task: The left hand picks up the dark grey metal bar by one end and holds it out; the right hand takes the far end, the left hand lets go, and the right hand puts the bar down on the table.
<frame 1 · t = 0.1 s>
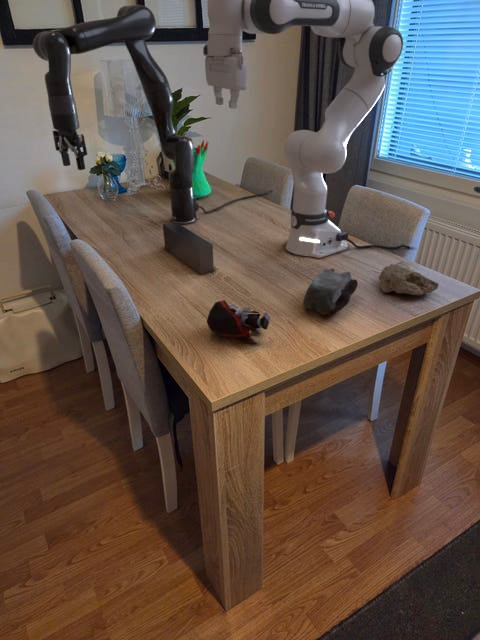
left hand: (74, 167, 141), 29 cm above the table, tool pointing down, fingers open, 8 cm apart
right hand: (226, 106, 124), 48 cm above the table, tool pointing down, fingers open, 8 cm apart
toy: (236, 337, 111), on the table
artifact: (401, 287, 134), on the table
toy 2: (190, 195, 217), on the table
dark grey rock: (330, 304, 126), on the table
bar: (188, 259, 152), on the table
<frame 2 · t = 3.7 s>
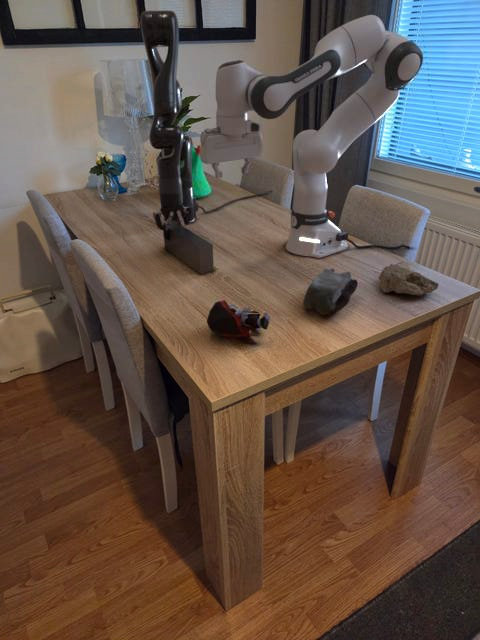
left hand: (174, 238, 156), 4 cm above the table, tool pointing down, fingers closed on bar, 5 cm apart
right hand: (232, 175, 134), 29 cm above the table, tool pointing down, fingers open, 8 cm apart
bar: (188, 259, 152), on the table, touching left hand
everything else where it was.
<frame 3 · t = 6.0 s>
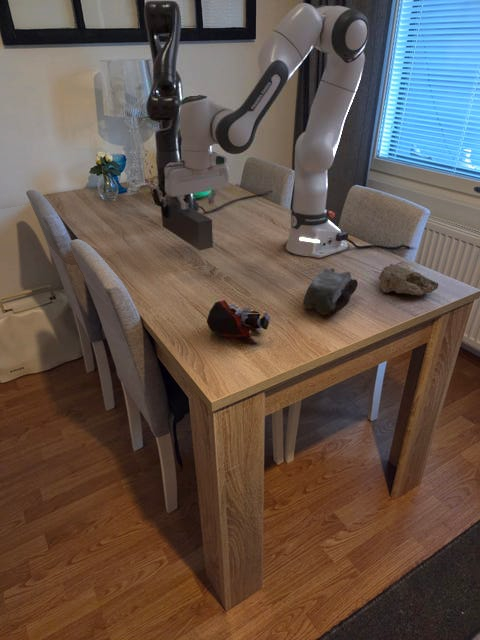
left hand: (172, 215, 152), 13 cm above the table, tool pointing down, fingers closed on bar, 5 cm apart
right hand: (198, 206, 135), 21 cm above the table, tool pointing down, fingers open, 8 cm apart
bar: (186, 236, 148), point 8 cm above the table, touching left hand
everything else where it was.
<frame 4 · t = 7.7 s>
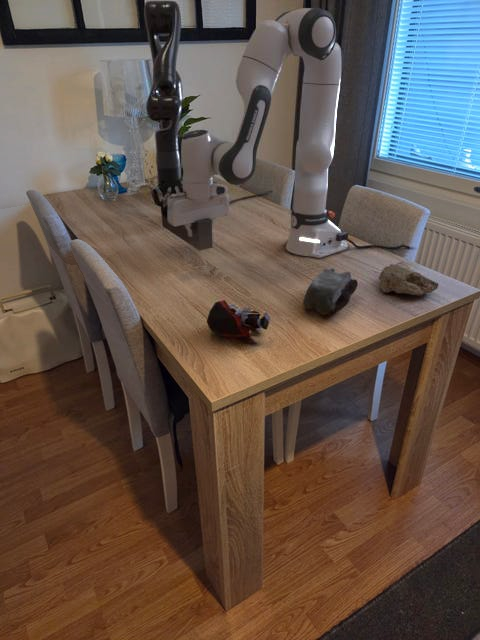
left hand: (172, 215, 152), 13 cm above the table, tool pointing down, fingers closed on bar, 5 cm apart
right hand: (200, 233, 139), 12 cm above the table, tool pointing down, fingers closed on bar, 5 cm apart
bar: (186, 236, 148), point 8 cm above the table, touching left hand, right hand
everything else where it was.
when the left hand's fingers open (13 cm above the table, at t = 8.7 s): bar stays where it is, held by the right hand.
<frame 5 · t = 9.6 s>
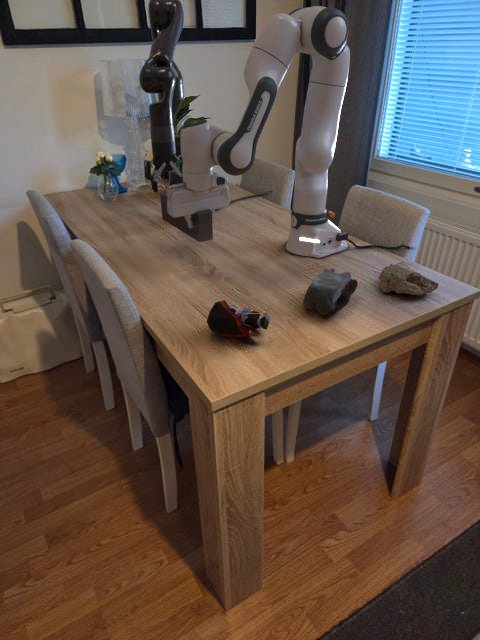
left hand: (167, 189, 150), 21 cm above the table, tool pointing down, fingers open, 8 cm apart
right hand: (200, 225, 138), 15 cm above the table, tool pointing down, fingers closed on bar, 5 cm apart
bar: (186, 228, 146), point 11 cm above the table, touching right hand
everything else where it was.
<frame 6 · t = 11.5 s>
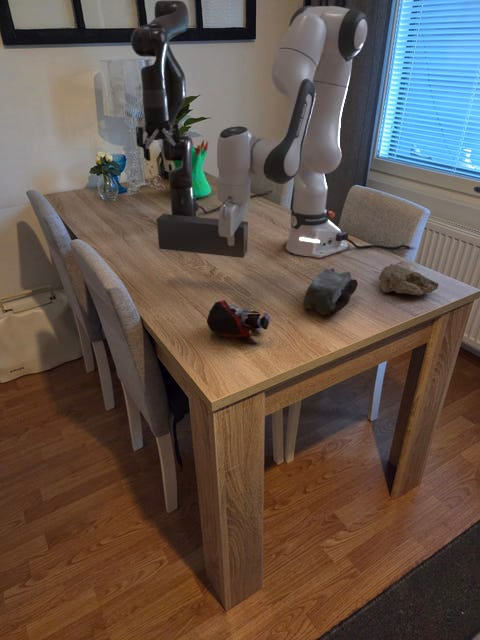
left hand: (160, 158, 147), 30 cm above the table, tool pointing down, fingers open, 8 cm apart
right hand: (234, 240, 127), 15 cm above the table, tool pointing down, fingers closed on bar, 5 cm apart
bar: (203, 250, 131), point 11 cm above the table, touching right hand
everything else where it was.
when the right hand's fingers open (5 cm above the table, at t = 13.1 s): bar stays where it is, on the table.
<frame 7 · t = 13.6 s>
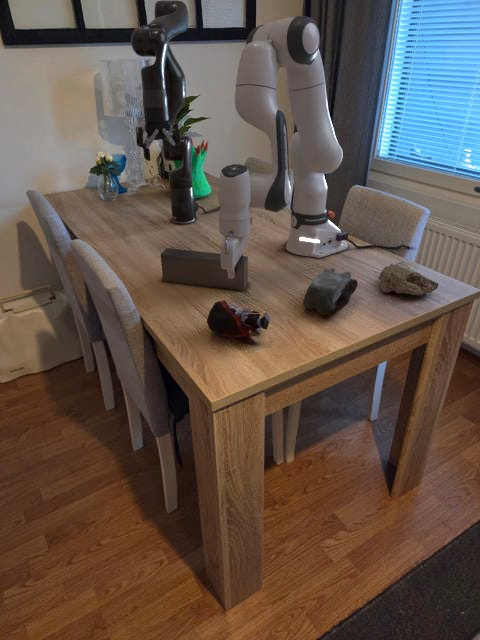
left hand: (160, 158, 147), 30 cm above the table, tool pointing down, fingers open, 8 cm apart
right hand: (235, 270, 132), 5 cm above the table, tool pointing down, fingers open, 8 cm apart
bar: (205, 282, 137), on the table
everything else where it was.
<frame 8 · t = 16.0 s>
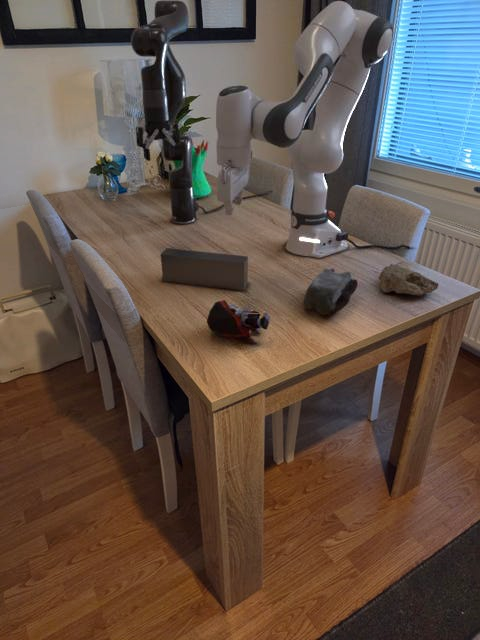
left hand: (160, 158, 147), 30 cm above the table, tool pointing down, fingers open, 8 cm apart
right hand: (233, 209, 122), 24 cm above the table, tool pointing down, fingers open, 8 cm apart
nothing on the table moved.
at the end: bar inside the target area (9.3 cm from its centre), on the table; the left hand is holding nothing; the right hand is holding nothing; bar at rest at the end (0.0 cm/s) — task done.
